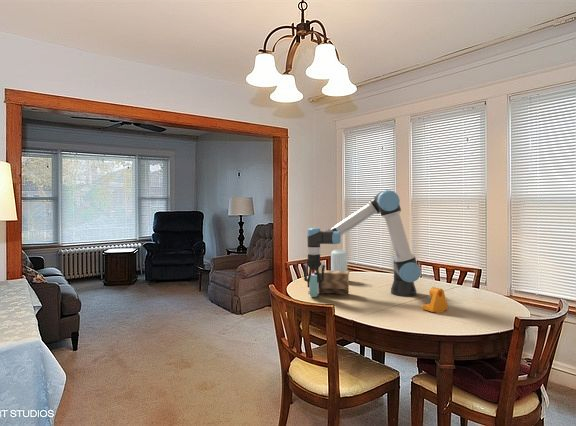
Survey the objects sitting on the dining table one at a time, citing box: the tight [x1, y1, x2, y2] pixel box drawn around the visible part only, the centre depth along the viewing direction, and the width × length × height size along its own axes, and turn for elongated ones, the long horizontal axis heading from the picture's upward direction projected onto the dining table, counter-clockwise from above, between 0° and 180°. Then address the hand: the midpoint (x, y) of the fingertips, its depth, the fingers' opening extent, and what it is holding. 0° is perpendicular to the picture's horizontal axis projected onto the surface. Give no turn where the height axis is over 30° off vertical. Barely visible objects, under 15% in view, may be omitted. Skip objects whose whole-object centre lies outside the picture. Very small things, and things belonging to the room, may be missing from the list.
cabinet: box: [313, 269, 350, 295], centre depth 228 cm, size 21×8×14 cm, turn 77°
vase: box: [330, 249, 348, 271], centre depth 266 cm, size 12×12×22 cm
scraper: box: [309, 275, 319, 297], centre depth 225 cm, size 4×11×12 cm, turn 167°
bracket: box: [422, 286, 448, 314], centre depth 193 cm, size 11×7×12 cm, turn 117°
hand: (314, 292), depth 221 cm, fingers closed on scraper, 4 cm apart
